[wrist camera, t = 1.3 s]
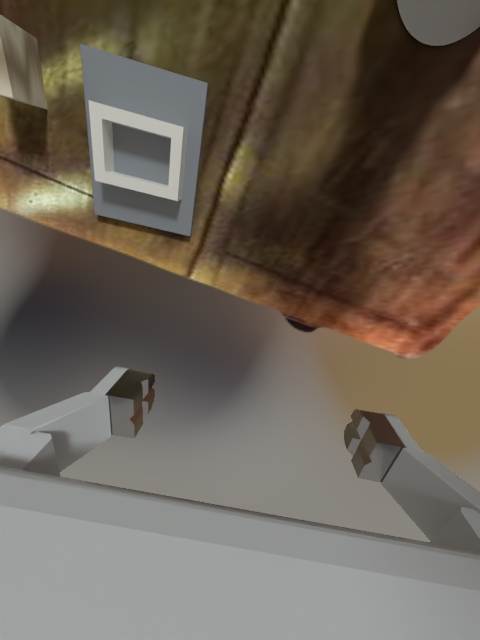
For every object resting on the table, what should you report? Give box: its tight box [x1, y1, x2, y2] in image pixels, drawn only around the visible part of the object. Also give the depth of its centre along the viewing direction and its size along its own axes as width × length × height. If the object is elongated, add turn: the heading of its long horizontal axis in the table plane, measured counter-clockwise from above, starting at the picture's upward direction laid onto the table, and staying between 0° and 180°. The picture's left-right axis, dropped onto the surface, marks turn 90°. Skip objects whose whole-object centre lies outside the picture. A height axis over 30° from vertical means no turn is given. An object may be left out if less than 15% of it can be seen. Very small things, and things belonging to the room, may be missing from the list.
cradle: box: [80, 44, 209, 236], centre depth 35 cm, size 20×16×4 cm
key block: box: [0, 15, 47, 109], centre depth 29 cm, size 7×4×6 cm, turn 167°
